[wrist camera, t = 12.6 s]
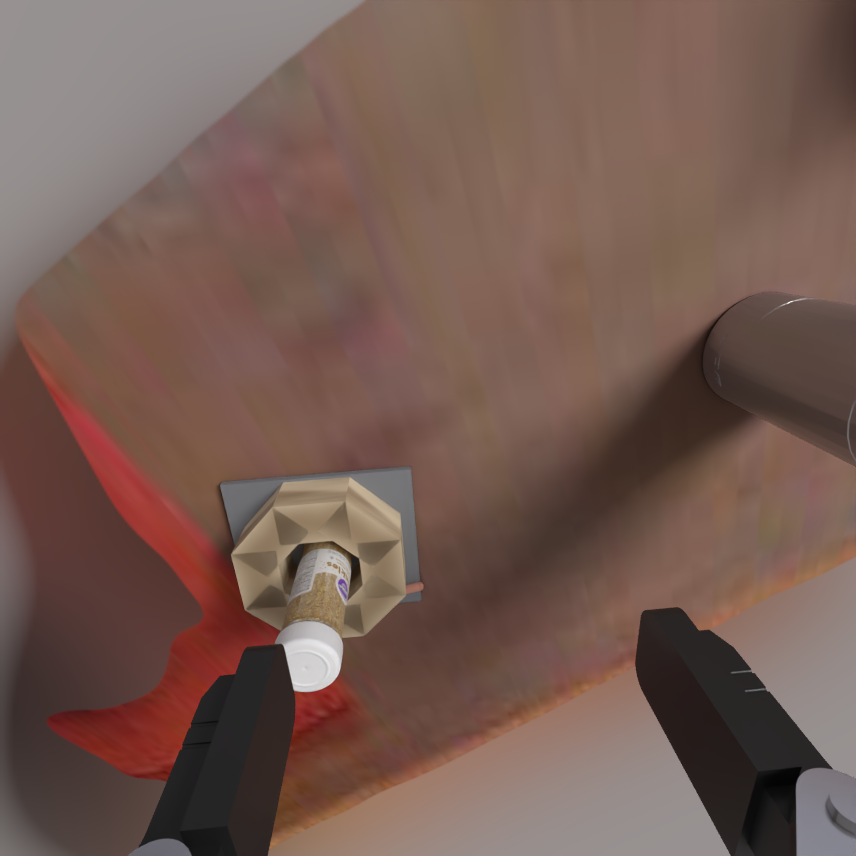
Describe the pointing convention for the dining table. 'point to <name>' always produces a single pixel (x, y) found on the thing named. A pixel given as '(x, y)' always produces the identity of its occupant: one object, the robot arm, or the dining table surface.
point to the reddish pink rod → (414, 587)
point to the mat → (383, 483)
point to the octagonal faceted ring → (318, 522)
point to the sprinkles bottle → (316, 616)
